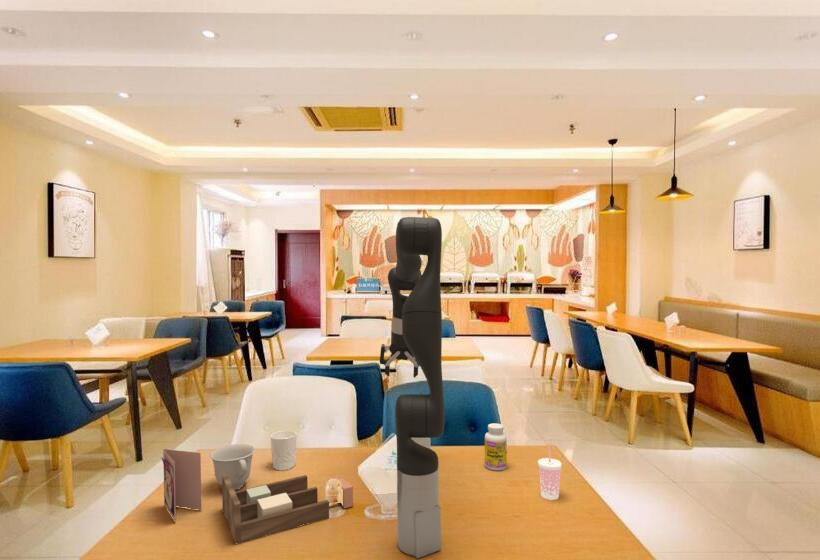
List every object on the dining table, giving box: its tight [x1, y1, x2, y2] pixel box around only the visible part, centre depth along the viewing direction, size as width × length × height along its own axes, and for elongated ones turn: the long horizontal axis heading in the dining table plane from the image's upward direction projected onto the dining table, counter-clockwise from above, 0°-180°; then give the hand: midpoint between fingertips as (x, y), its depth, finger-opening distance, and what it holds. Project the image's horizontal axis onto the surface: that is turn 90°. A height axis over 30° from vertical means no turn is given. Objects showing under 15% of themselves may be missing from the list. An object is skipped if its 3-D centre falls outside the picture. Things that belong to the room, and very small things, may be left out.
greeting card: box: [160, 448, 202, 523], centre depth 120 cm, size 11×7×15 cm, turn 40°
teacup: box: [209, 443, 256, 491], centre depth 132 cm, size 12×15×10 cm
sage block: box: [245, 484, 271, 504], centre depth 120 cm, size 5×5×5 cm
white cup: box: [270, 430, 298, 471], centre depth 147 cm, size 8×8×10 cm
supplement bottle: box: [484, 422, 508, 472], centre depth 145 cm, size 7×7×13 cm
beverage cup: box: [537, 443, 563, 501], centre depth 126 cm, size 6×6×14 cm
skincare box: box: [411, 437, 432, 450], centre depth 151 cm, size 6×4×12 cm
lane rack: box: [221, 474, 330, 545], centre depth 118 cm, size 18×22×9 cm
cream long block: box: [257, 477, 354, 518], centre depth 118 cm, size 6×23×5 cm, turn 120°
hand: (401, 375), depth 153 cm, fingers open, 8 cm apart
